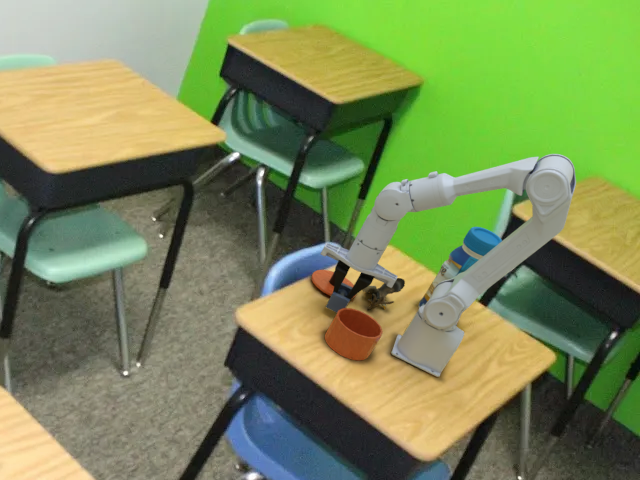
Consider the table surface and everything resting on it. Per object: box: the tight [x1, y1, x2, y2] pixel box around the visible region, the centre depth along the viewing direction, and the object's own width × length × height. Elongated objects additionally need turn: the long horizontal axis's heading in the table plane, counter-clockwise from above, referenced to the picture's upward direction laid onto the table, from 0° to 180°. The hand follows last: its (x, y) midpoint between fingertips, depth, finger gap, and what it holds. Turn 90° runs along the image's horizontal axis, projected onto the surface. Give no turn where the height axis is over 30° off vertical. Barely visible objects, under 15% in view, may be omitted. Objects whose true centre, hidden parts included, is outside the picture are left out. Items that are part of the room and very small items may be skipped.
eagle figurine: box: [361, 277, 406, 311], centre depth 189 cm, size 8×7×9 cm
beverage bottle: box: [418, 226, 503, 309], centre depth 188 cm, size 8×8×20 cm
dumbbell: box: [325, 283, 353, 314], centre depth 182 cm, size 6×3×3 cm, turn 152°
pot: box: [324, 307, 384, 361], centre depth 174 cm, size 9×9×5 cm
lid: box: [311, 269, 357, 300], centre depth 190 cm, size 10×10×4 cm
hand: (339, 299), depth 182 cm, fingers closed on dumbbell, 2 cm apart
